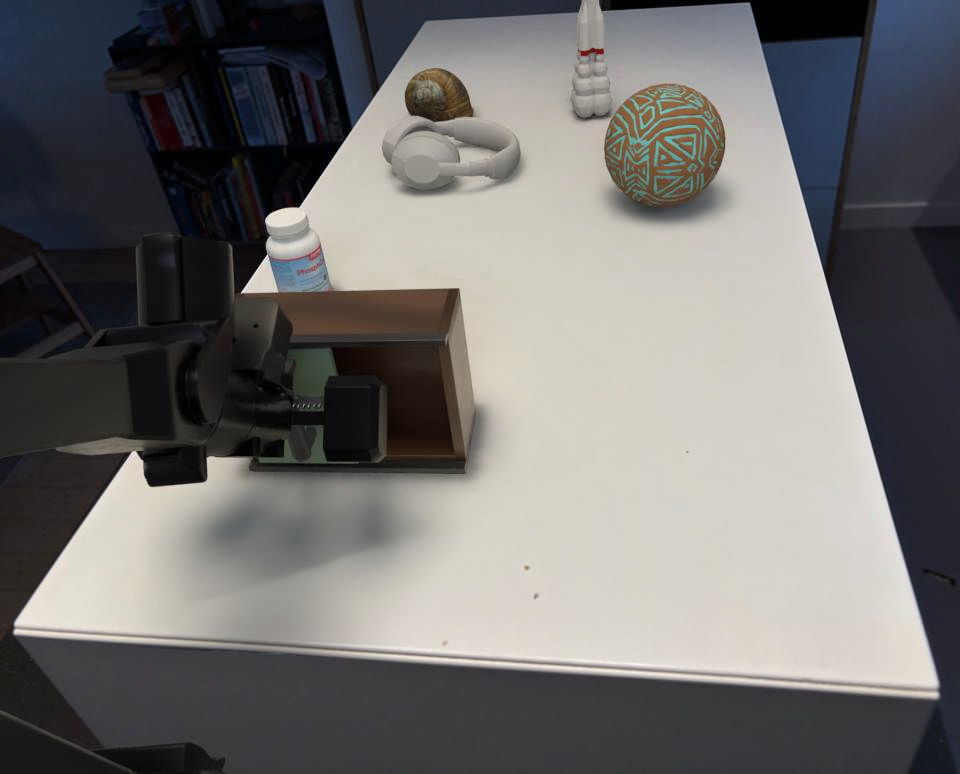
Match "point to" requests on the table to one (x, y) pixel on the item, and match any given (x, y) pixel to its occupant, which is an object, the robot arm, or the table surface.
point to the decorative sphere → (664, 145)
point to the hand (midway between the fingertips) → (301, 425)
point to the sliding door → (307, 380)
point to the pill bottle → (295, 252)
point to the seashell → (437, 96)
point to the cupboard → (394, 369)
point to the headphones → (447, 150)
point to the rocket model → (590, 63)
